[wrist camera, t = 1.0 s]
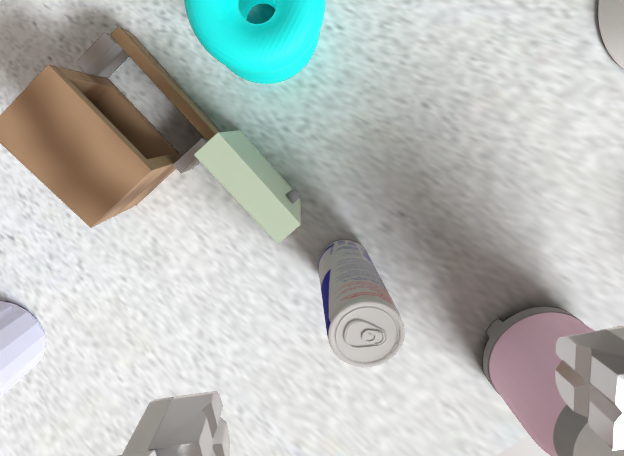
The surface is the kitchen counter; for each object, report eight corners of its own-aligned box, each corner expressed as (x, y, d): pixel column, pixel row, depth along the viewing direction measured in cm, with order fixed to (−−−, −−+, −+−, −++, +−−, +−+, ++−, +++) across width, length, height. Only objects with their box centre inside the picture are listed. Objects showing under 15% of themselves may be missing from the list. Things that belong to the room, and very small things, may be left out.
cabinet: (133, 34, 35) (78, 5, 27) (226, 137, 38) (204, 141, 29) (50, 119, 37) (-27, 118, 28) (144, 212, 40) (101, 237, 31)
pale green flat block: (246, 124, 38) (225, 124, 27) (306, 192, 40) (308, 217, 29) (223, 146, 38) (193, 154, 28) (283, 212, 40) (277, 244, 30)
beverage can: (309, 251, 41) (314, 320, 27) (356, 229, 41) (388, 288, 26) (330, 294, 43) (346, 381, 28) (376, 274, 42) (417, 352, 28)
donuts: (282, 98, 28) (153, 21, 26) (286, 105, 37) (193, 48, 36) (354, -38, 26) (219, -131, 24) (339, 6, 35) (242, -58, 34)
